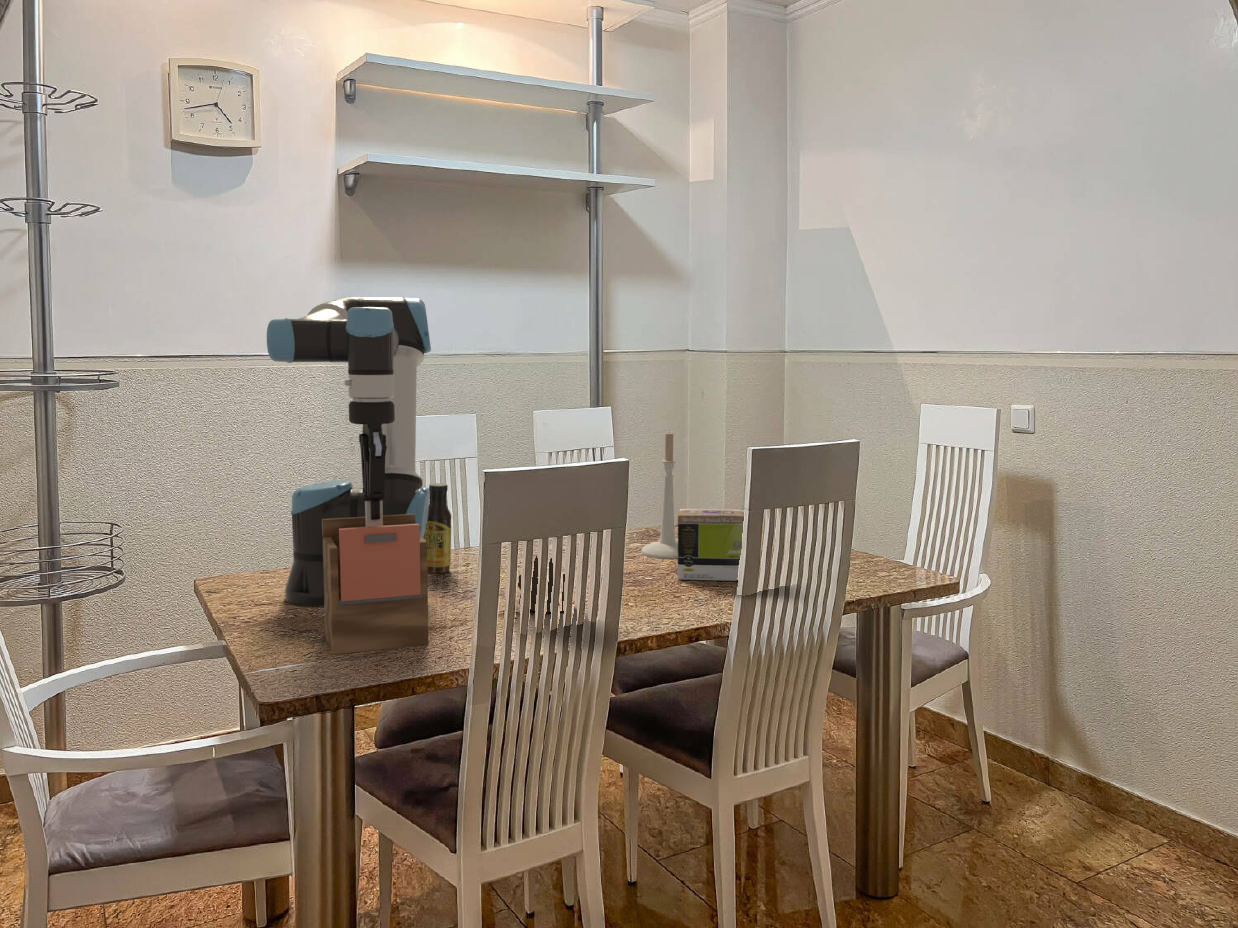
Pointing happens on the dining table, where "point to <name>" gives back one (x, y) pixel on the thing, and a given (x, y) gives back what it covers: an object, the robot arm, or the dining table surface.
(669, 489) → the candlestick
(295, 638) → the dining table surface
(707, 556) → the tea box
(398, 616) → the wooden box
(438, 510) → the sauce bottle
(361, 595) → the panel
